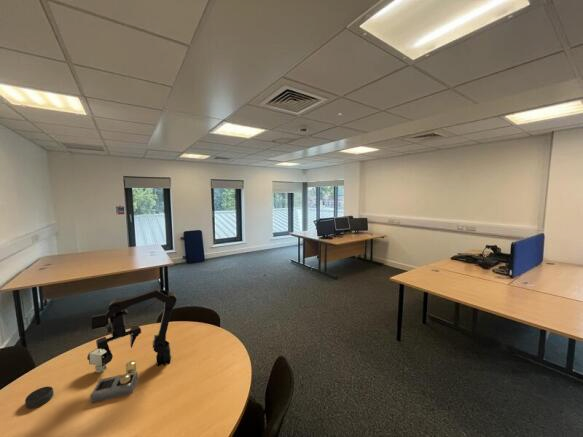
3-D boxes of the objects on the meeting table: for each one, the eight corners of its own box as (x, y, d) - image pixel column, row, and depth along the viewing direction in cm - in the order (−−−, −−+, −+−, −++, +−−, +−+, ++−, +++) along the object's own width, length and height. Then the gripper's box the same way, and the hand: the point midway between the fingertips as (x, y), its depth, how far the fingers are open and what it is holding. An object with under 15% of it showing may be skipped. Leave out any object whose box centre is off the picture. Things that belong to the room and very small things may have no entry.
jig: (137, 378, 124) (137, 371, 124) (132, 393, 115) (131, 385, 114) (100, 387, 118) (99, 379, 118) (91, 403, 109) (90, 395, 109)
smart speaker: (31, 398, 112) (30, 390, 112) (56, 390, 117) (55, 382, 116) (21, 412, 105) (20, 404, 104) (49, 404, 109) (48, 396, 109)
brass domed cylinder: (137, 370, 130) (136, 359, 130) (135, 375, 126) (134, 365, 125) (127, 372, 129) (127, 361, 128) (125, 377, 124) (124, 367, 124)
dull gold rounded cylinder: (132, 383, 121) (131, 372, 120) (129, 389, 117) (129, 378, 116) (121, 385, 119) (121, 374, 119) (119, 392, 115) (118, 380, 115)
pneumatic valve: (105, 375, 126) (104, 353, 125) (87, 372, 129) (86, 351, 128) (115, 368, 132) (114, 347, 131) (98, 365, 134) (96, 344, 133)
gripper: (134, 312, 137) (137, 337, 139) (93, 325, 124) (96, 353, 126) (140, 318, 129) (142, 345, 131) (96, 333, 116) (99, 363, 118)
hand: (121, 351), depth 127 cm, fingers open, 9 cm apart
